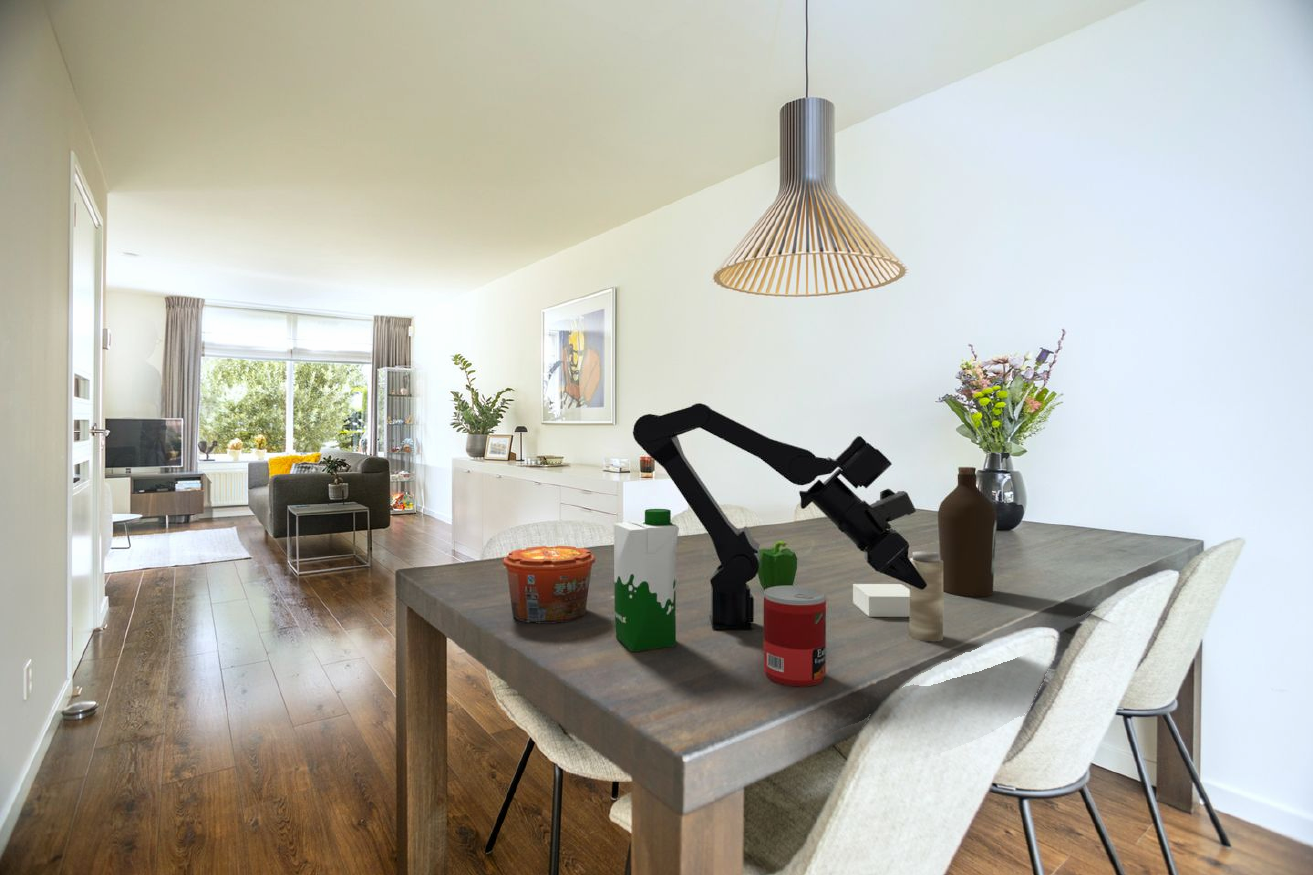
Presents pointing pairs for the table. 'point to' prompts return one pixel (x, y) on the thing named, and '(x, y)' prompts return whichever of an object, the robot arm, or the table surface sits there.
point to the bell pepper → (777, 566)
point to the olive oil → (967, 538)
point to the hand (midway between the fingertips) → (918, 580)
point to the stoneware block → (882, 599)
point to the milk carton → (645, 581)
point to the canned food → (794, 635)
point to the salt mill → (927, 598)
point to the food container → (549, 582)
